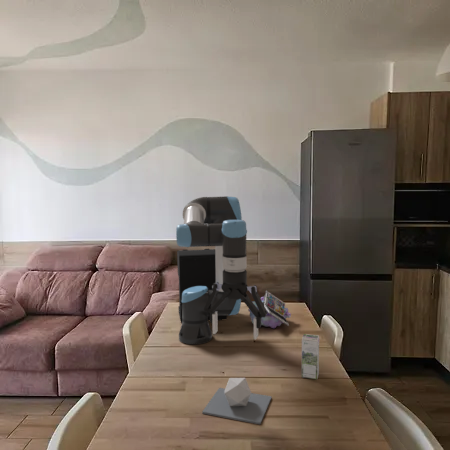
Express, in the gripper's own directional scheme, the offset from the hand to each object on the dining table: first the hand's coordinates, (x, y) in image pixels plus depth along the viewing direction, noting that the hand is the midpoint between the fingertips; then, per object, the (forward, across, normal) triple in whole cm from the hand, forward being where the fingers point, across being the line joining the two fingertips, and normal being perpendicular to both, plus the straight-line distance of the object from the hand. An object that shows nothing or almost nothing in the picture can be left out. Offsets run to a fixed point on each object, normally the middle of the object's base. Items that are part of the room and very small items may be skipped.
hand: (235, 335), depth 123 cm
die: (+21, +2, -4) cm, 21 cm away
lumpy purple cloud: (+23, -5, +72) cm, 76 cm away
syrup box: (+22, +21, +23) cm, 38 cm away
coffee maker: (+23, -41, +75) cm, 89 cm away
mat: (+21, +2, -4) cm, 22 cm away
